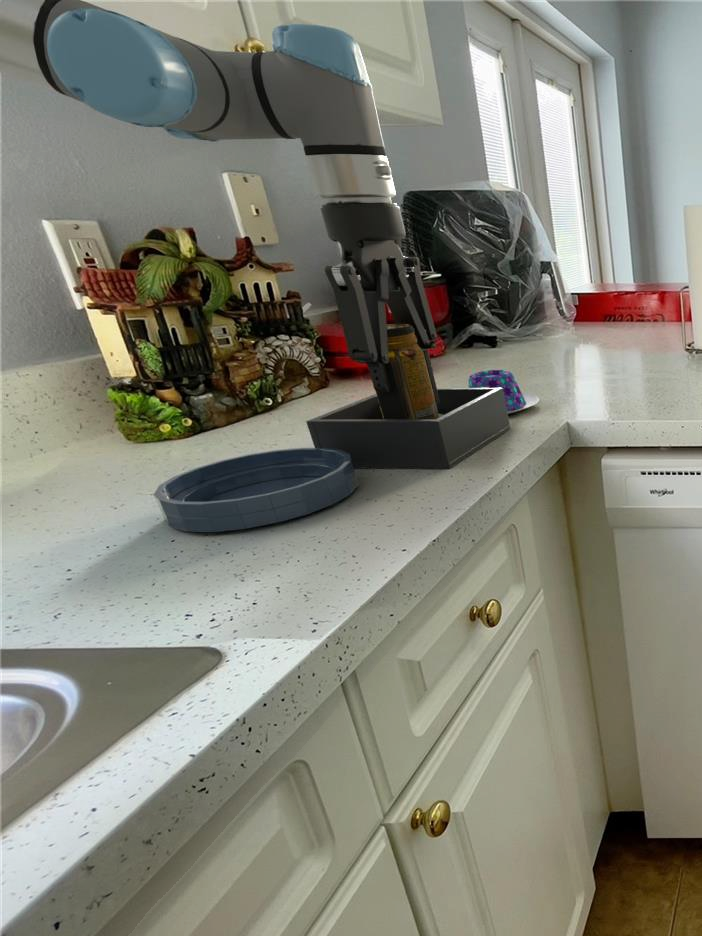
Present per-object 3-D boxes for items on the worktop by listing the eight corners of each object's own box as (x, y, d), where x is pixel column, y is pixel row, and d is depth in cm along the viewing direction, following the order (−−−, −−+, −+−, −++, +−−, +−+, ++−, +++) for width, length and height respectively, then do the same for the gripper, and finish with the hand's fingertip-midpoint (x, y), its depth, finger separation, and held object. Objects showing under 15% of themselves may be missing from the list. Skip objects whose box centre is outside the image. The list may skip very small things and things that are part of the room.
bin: (321, 468, 82) (305, 421, 80) (400, 429, 96) (389, 388, 94) (449, 468, 81) (438, 421, 78) (510, 429, 95) (502, 387, 93)
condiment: (369, 431, 86) (340, 329, 81) (428, 413, 93) (405, 319, 88) (412, 437, 83) (384, 332, 78) (469, 418, 90) (447, 321, 85)
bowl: (122, 534, 66) (107, 503, 65) (256, 474, 81) (246, 447, 79) (285, 537, 65) (273, 504, 63) (391, 475, 79) (383, 447, 78)
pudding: (546, 412, 102) (539, 376, 100) (455, 424, 97) (447, 387, 95) (533, 395, 112) (527, 361, 110) (450, 405, 107) (442, 370, 105)
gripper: (332, 200, 68) (396, 433, 78) (439, 200, 85) (480, 391, 95) (259, 202, 68) (331, 433, 78) (380, 202, 86) (427, 391, 95)
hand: (413, 410), depth 86 cm, fingers closed on condiment, 6 cm apart
